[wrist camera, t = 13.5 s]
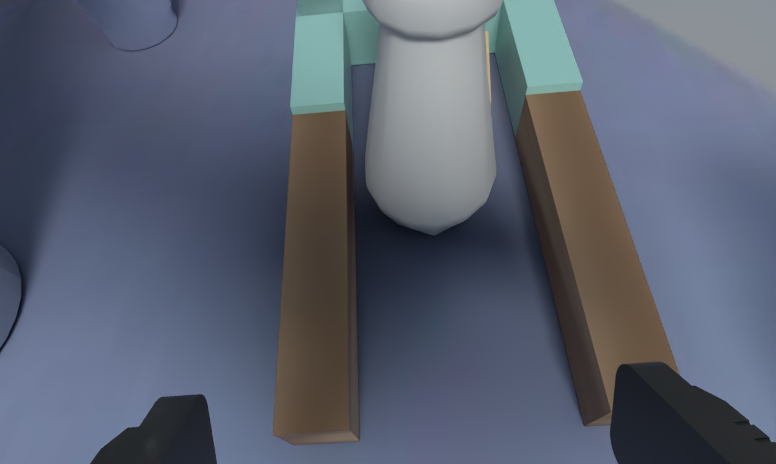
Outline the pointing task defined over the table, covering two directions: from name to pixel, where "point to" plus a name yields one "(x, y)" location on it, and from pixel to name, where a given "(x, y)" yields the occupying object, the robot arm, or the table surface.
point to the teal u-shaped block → (359, 46)
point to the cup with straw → (131, 21)
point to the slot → (558, 242)
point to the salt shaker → (430, 112)
